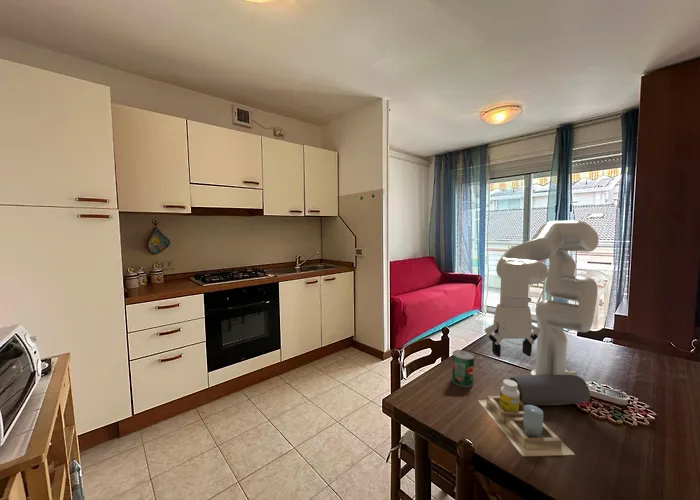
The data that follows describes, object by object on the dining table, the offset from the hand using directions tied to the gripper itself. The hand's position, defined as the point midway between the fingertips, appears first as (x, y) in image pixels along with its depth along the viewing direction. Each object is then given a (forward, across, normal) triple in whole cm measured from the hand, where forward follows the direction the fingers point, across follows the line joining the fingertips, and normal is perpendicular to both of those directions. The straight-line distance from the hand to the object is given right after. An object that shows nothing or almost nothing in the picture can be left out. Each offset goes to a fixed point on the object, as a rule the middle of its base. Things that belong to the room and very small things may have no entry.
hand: (511, 354), depth 90 cm
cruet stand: (+20, 0, +6) cm, 21 cm away
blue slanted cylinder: (+19, 0, +11) cm, 22 cm away
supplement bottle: (+19, 0, 0) cm, 19 cm away
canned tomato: (+20, +6, -20) cm, 29 cm away
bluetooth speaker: (+20, -16, -5) cm, 26 cm away
